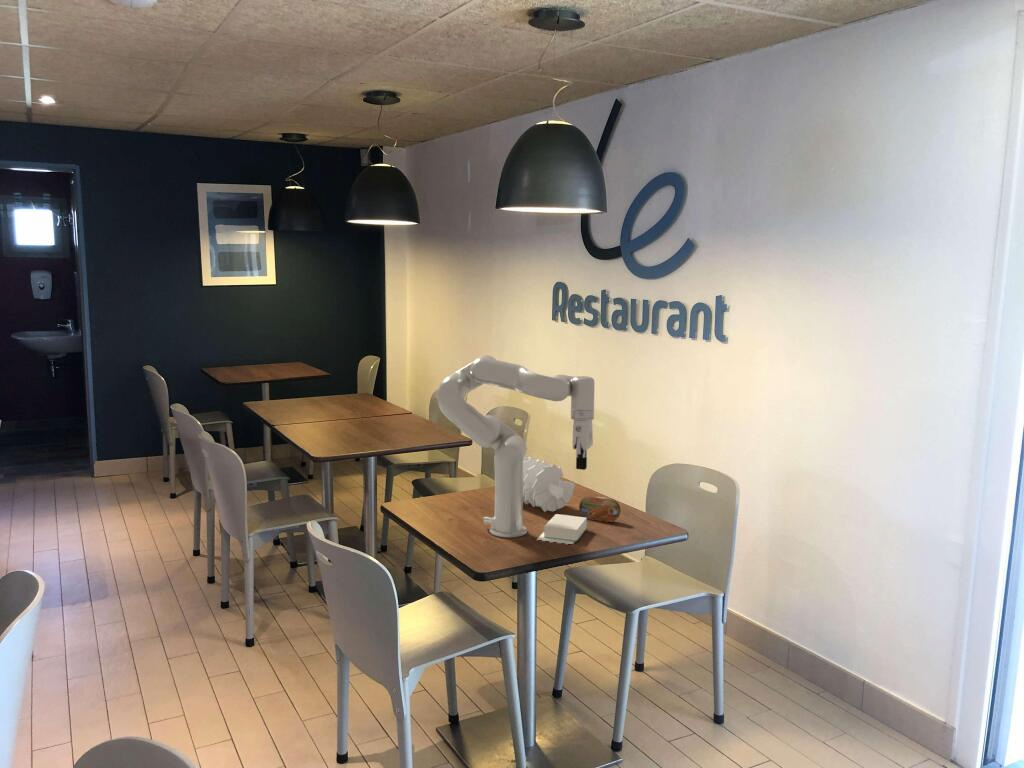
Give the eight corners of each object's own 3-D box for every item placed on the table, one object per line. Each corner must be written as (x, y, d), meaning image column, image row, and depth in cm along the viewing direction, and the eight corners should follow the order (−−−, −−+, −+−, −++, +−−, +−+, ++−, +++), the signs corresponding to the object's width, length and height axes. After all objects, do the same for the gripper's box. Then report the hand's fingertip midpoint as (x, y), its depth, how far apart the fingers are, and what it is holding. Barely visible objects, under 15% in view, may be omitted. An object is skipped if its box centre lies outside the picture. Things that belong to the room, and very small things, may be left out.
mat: (536, 540, 266) (536, 539, 265) (552, 523, 283) (552, 522, 283) (572, 545, 262) (572, 543, 262) (585, 527, 280) (586, 526, 280)
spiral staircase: (548, 526, 293) (506, 506, 312) (581, 499, 301) (539, 481, 321) (533, 486, 285) (492, 467, 305) (568, 459, 294) (526, 443, 313)
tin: (578, 517, 291) (579, 495, 290) (581, 515, 293) (582, 493, 292) (618, 524, 284) (618, 501, 283) (621, 522, 287) (622, 499, 285)
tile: (576, 541, 264) (544, 537, 267) (586, 528, 277) (555, 525, 280) (576, 529, 263) (544, 525, 267) (586, 517, 276) (555, 513, 280)
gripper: (588, 418, 256) (587, 475, 259) (598, 411, 270) (597, 464, 273) (565, 417, 258) (564, 473, 261) (576, 409, 273) (575, 462, 275)
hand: (581, 468), depth 267 cm, fingers closed
